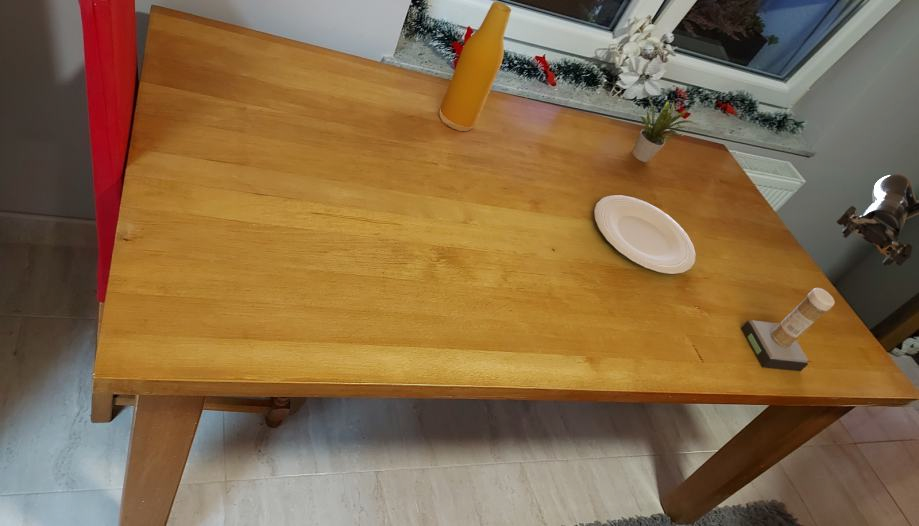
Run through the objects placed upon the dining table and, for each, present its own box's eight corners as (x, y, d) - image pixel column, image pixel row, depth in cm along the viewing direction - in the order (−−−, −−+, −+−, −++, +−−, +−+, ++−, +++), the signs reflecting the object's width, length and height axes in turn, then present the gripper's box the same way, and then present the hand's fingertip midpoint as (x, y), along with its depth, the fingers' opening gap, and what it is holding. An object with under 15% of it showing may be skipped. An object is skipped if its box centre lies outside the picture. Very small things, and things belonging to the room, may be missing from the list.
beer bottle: (461, 108, 166) (506, -4, 147) (481, 131, 161) (530, 19, 143) (430, 109, 161) (473, -6, 142) (450, 134, 156) (497, 17, 137)
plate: (694, 295, 144) (699, 289, 143) (587, 249, 142) (591, 243, 141) (688, 227, 163) (692, 221, 162) (593, 186, 161) (597, 180, 160)
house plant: (676, 179, 178) (712, 128, 168) (633, 173, 173) (667, 120, 162) (654, 146, 187) (687, 96, 177) (612, 138, 182) (643, 86, 171)
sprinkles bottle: (793, 344, 138) (839, 301, 130) (783, 351, 135) (829, 307, 127) (776, 327, 140) (820, 284, 132) (765, 333, 138) (810, 289, 129)
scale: (777, 332, 145) (787, 323, 143) (800, 371, 138) (811, 362, 136) (739, 328, 141) (748, 318, 139) (761, 367, 135) (771, 357, 133)
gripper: (864, 186, 142) (848, 210, 130) (928, 228, 137) (916, 257, 126) (840, 213, 147) (821, 238, 135) (900, 254, 142) (887, 284, 131)
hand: (867, 247), depth 131 cm, fingers open, 8 cm apart
